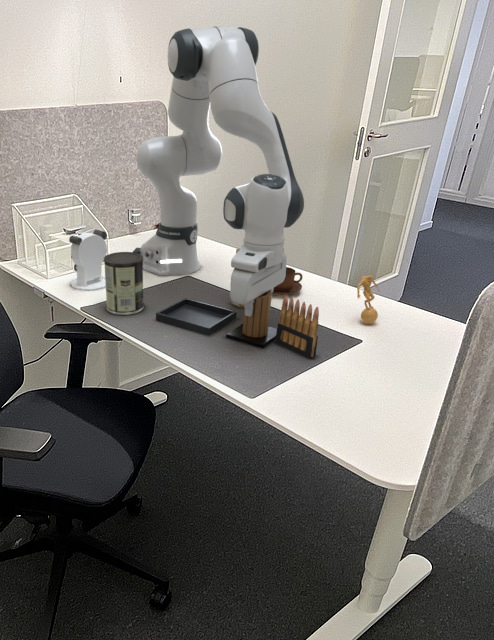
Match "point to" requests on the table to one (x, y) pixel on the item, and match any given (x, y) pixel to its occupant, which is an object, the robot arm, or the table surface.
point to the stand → (255, 341)
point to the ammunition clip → (298, 328)
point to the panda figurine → (88, 259)
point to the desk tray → (196, 316)
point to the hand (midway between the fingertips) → (256, 310)
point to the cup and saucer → (288, 284)
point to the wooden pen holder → (258, 317)
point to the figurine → (368, 300)
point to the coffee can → (124, 282)
